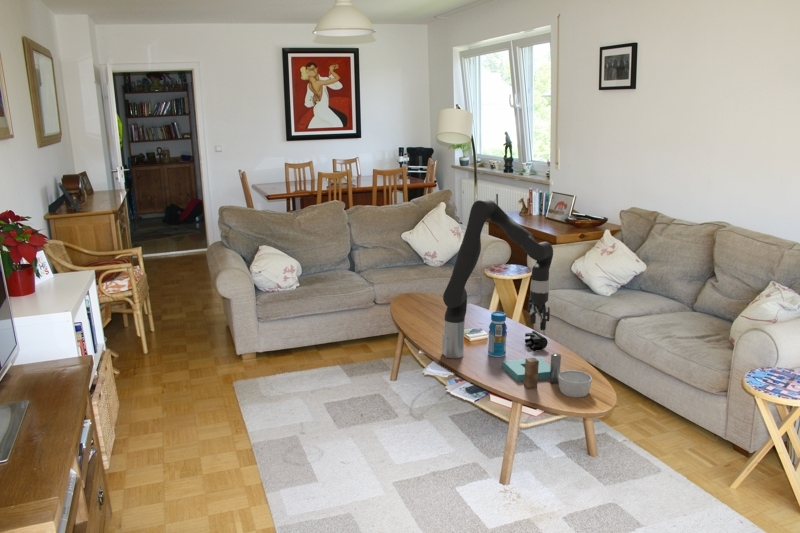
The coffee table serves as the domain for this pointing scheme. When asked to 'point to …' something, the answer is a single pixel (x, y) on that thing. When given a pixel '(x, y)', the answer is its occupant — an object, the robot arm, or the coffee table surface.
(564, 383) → the ramekin
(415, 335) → the coffee table surface
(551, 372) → the round peg
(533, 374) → the square peg
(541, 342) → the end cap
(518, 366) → the socket block
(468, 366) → the coffee table surface
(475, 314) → the coffee table surface
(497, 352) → the beverage bottle
